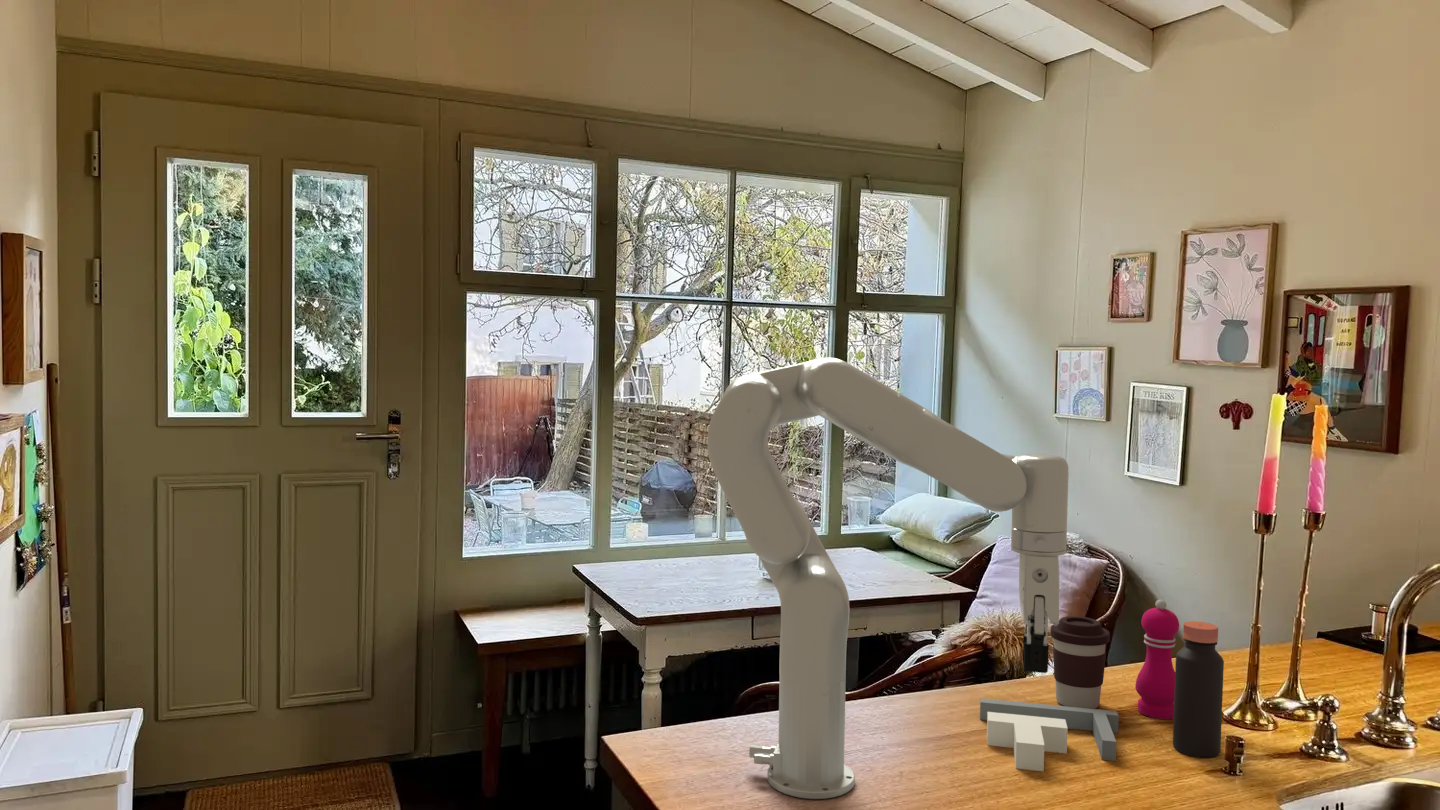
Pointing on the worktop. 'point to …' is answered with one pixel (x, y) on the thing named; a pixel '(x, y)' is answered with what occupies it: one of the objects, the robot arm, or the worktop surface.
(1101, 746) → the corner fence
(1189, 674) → the bottle
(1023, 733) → the t block
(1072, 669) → the coffee cup
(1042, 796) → the worktop surface
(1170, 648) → the pepper mill
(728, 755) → the worktop surface
